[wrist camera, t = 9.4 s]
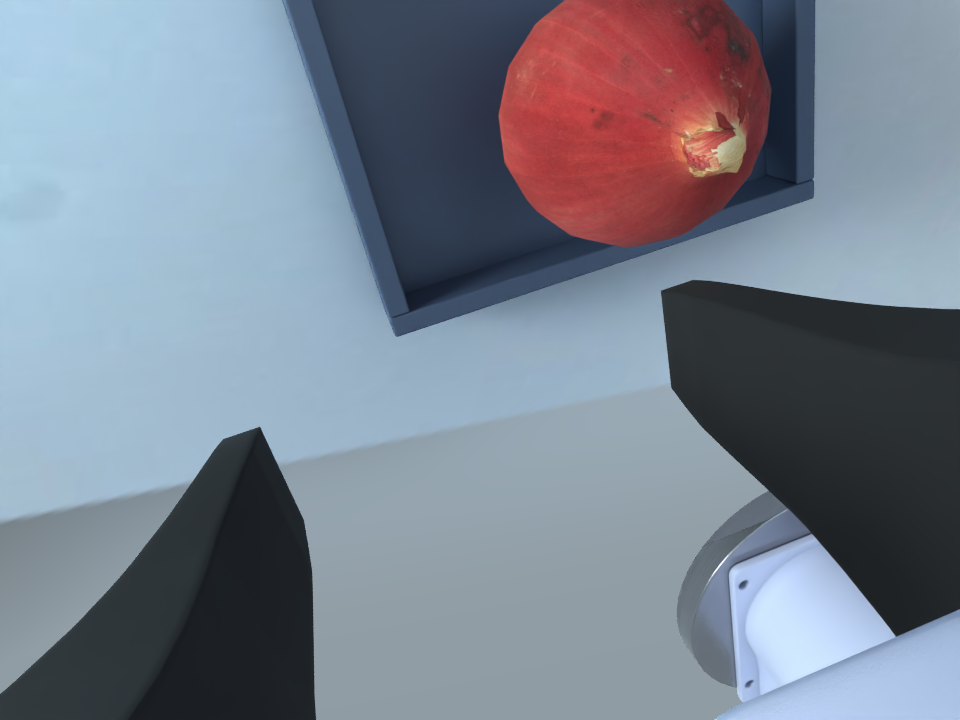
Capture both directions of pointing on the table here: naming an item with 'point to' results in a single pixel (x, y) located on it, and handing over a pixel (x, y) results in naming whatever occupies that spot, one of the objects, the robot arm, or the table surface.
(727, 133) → the red pomegranate
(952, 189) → the table surface
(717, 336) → the robot arm
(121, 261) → the table surface
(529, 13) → the tray
